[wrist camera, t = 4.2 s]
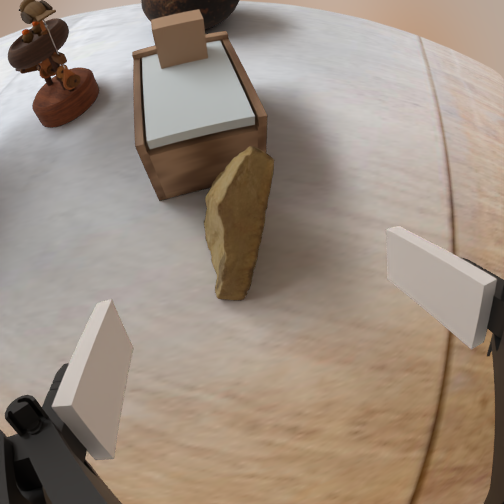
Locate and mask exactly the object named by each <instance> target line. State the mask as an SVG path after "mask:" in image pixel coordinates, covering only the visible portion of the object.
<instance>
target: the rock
mask: <svg viewBox="0 0 504 504" xmlns="http://www.w3.org/2000/svg"><path fill="white" fill-rule="evenodd" d="M273 170H274V159H273V158H271V157H270V156H269V155H268V154H266V153H265V152H263V151H262V150H260V149H258V148H257V147H252V146H249V147H248V148H247V149H246V150H245V151H243V152H241V153H239V155H238V156H236V157H234V158H233V159H232V161H231V162H230V164H228V165H227V166H226V168H225V170H224V171H223V172H221V173H220V174H219V175H218V176H217V177H216V179H215V181H214V182H213V183H212V187H211V188H210V190H209V192H208V194H207V195H206V197H205V201H206V207H207V211H206V218H205V221H204V226H205V227H204V228H205V232H206V241H207V243H208V248H209V250H210V251H211V256H212V263H213V266H214V269H215V271H216V273H217V280H216V286H215V293H216V295H217V298H218V299H229V300H242V299H244V298H245V296H246V295H247V291H248V290H249V288H250V285H251V281H252V276H253V270H254V268H255V265H256V261H257V257H258V250H259V246H260V243H261V238H262V233H263V228H264V223H265V211H266V209H267V202H268V197H269V193H270V188H271V182H272V176H273Z"/></svg>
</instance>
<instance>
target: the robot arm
mask: <svg viewBox="0 0 504 504" xmlns="http://www.w3.org/2000/svg"><path fill="white" fill-rule="evenodd" d="M386 243H387V279H388V280H389V281H390V282H391V283H393V284H394V285H395V286H396V287H398V288H399V289H400V290H401V291H403V292H404V293H405V294H406V295H407V296H409V297H410V298H411V299H412V300H414V301H415V302H416V303H417V304H418V305H420V306H421V307H422V308H423V309H425V310H426V311H427V312H428V313H429V314H431V315H432V316H433V317H434V318H435V319H436V320H438V321H439V322H440V323H441V324H442V325H444V326H445V327H446V328H447V329H448V330H449V331H451V332H452V333H453V334H454V335H455V336H456V337H458V338H459V339H460V340H461V341H462V342H463V343H464V344H466V345H467V346H468V347H469V348H470V349H473V348H475V347H476V346H478V345H480V344H481V343H483V342H484V340H485V336H486V332H487V329H489V330H490V331H491V332H492V333H493V334H492V338H491V342H490V346H489V349H488V353H487V356H490V352H491V351H492V355H493V367H494V384H495V439H494V455H493V467H492V476H491V484H490V490H489V493H488V495H487V498H486V500H485V502H484V504H504V280H503V279H501V278H500V277H498V276H496V275H494V274H493V273H491V272H489V271H487V270H486V269H483V268H482V267H480V266H479V265H477V264H475V263H473V262H471V261H470V260H468V259H464V258H460V257H458V256H456V255H454V254H452V253H450V252H448V251H447V250H445V249H443V248H441V247H439V246H437V245H435V244H433V243H432V242H430V241H428V240H426V239H424V238H422V237H420V236H418V235H416V234H414V233H412V232H410V231H408V230H406V229H404V228H402V227H400V226H395V227H391V228H388V229H386ZM132 353H133V345H132V343H131V341H130V339H129V337H128V335H127V333H126V330H125V328H124V326H123V324H122V321H121V319H120V317H119V315H118V312H117V310H116V308H115V305H114V303H113V300H112V299H110V300H106V301H102V302H98V303H97V304H96V306H95V308H94V310H93V312H92V315H91V317H90V319H89V321H88V323H87V325H86V327H85V329H84V331H83V333H82V336H81V338H80V340H79V342H78V344H77V347H76V349H75V351H74V353H73V356H72V358H71V360H70V362H69V363H68V364H64V365H63V366H62V367H61V368H60V370H59V371H58V372H57V373H56V376H55V378H54V380H53V384H52V385H51V387H50V391H49V392H48V394H47V396H46V399H45V401H44V404H43V406H42V407H41V406H40V405H39V403H38V402H37V400H36V399H35V398H34V397H33V396H30V395H24V396H21V397H19V398H17V399H15V400H14V401H13V402H12V403H11V404H10V405H9V406H8V408H7V410H6V412H5V419H6V420H7V421H8V423H9V424H10V425H11V426H12V427H13V429H14V430H15V431H16V432H17V433H18V434H16V435H13V436H10V437H7V436H6V435H5V434H4V433H3V432H2V431H1V430H0V504H122V503H121V502H120V501H119V500H118V499H117V498H116V496H115V495H114V494H113V493H112V492H111V491H110V489H109V488H108V487H107V486H106V484H105V483H104V482H103V481H102V479H101V478H100V477H99V476H98V474H97V473H96V472H95V471H94V469H93V468H92V467H91V465H90V464H89V463H88V462H87V461H86V460H85V456H86V451H88V452H89V453H90V455H91V456H92V457H93V458H94V459H95V460H104V459H114V457H115V449H116V442H117V435H118V428H119V422H120V416H121V410H122V404H123V398H124V393H125V387H126V382H127V377H128V372H129V367H130V362H131V357H132Z"/></svg>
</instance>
